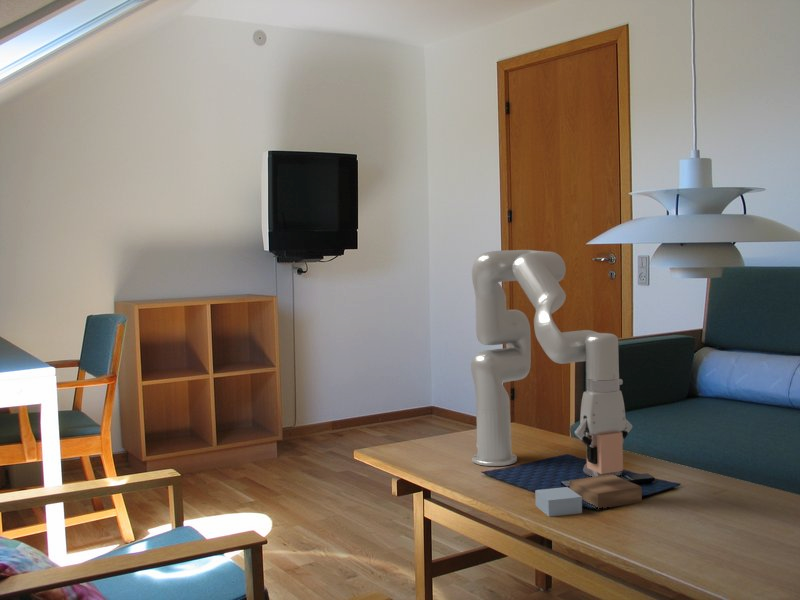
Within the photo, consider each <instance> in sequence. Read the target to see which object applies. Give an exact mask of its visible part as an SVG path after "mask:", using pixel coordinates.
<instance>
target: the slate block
mask: <svg viewBox="0 0 800 600" xmlns="http://www.w3.org/2000/svg"><path fill="white" fill-rule="evenodd" d="M534 492H535V494H534V496H535V507H537V509H539V510H540V511H541V512H543V513H544V514H545V515H546V516H547V517H557V516H560V517H561V516H569V515H577V514H582V513H583V501H582V497H581V496H580V495H578V494H577V493H575V492H574V491H573V490H571V489H570V488H569V487H568V486H564V487H555V488H554V487H553V488H543V489H536V490H535V491H534Z"/></svg>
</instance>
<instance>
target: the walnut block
mask: <svg viewBox="0 0 800 600" xmlns="http://www.w3.org/2000/svg"><path fill="white" fill-rule="evenodd" d="M568 482H569V487H568V488H570V489H571V490H573V491H574V492H575V493H577V494H578V495H580V496H581V497H582V500H584V501H586V502H588V503H590V504H593V505H595V506H596V507H598V509H597V510H600V509H599V508H602V507H603V509H608V508H607V507H609V508H615V507H620V506H626V505H630V504H637V503H642V502H643V489H642V486H641V485H639V484H636V483H633V482H631V481H630V480H628V479H627V480H626V479H624V478H622V477H617V476H615V475H613V474H608V475H601V476H595V477H591V476H590V477H589V476H587V477H583V478H576V479H569V481H568Z"/></svg>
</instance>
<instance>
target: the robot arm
mask: <svg viewBox="0 0 800 600" xmlns="http://www.w3.org/2000/svg"><path fill="white" fill-rule="evenodd" d="M566 272H567V271H566V264H565V261H564V259H563V257H562V256H561V255H559V254H558V253H557V252H554V251H546V250H545V251H544V250H535V249H534V250H533V249H532V250H531V249H515V250H514V249H513V250H511V249H510V250H507V249H505V250H491V251H486V252H483V253H480V254H479V256H478V257H476V259H475V260H474V262H473V265H472V268H471V279H472V285H473V289H474V295H475V296H474V297H475V332H476V333H475V334H476V338H477V340H478V342H479V343H480V344H482V345H484V346H497V345H498V346H499V345H505V346H506V348H505V347H504V348H495V349H487V350H483V351H480V352H478V353H477V354H475V356H473V358H472V360H471V365H470V369H471V375H472V379H473V384H474V391H475V392H474V394H475V410H476V411H475V413H476V443H475V447H476V448H477V453H475V454H473V455H472V457H471V459H472V460H471V461H472V462H473V463H474V464H477V465H478V466H479V465H480V466H485V467H502V466H503V467H504V466H509V465H513V464H515V463H516V462H517V461H518V457H517V455H516V454H515V453H512V440H511V439H512V436H511V435H512V432H511V431H512V430H511V400H510V395H509V393H508V392H507V390H506V388H505V387H504V385H503V384H504V383H507V382H514V381H515V382H516V381H520V380H523V379H525V378H526V377H527V376H528V374H529V373H530V369H531V365H532V364H531V363H532V362H531V361H532V360H531V359H532V357H531V352H532V351H531V348H532V346H531V343H532V342H531V335H532V334H531V325H530V322H529V319H528V317H527V315H526V314H525V312H523V311H521V310H519V309H507V296H506V293H505V290H504V289H503V287H502V286H501V284H500V282H518V284H519V285H520V287H521V288H522V290H523V292H524V293H525V295H526V297H527V299H528V300H529V301H530V303H531V304H532V306H533V307H534V310H535V314H534V318H533V326H534V334H535V338H536V339H537V342H538V343H539V345H540V346H541V348H542V350H543V352H545V354H546V356H547V357H548V358H549V359H550V360H551V361H552V362H554V363H556V364H559V365H560V364H562V365H563V364H570V363H580V362H581V363H583V362H585V372H586V374H585V377H586V378H585V381H586V391H583V393H582V398H581V402H580V403H581V404H580V417H579V422H580V424H579V425H578V427H577V428H576V429H575V431H574V435H575V436H576V437H578V438H579V440H580V441H581V442H582V443H584V445H585V446H587V449H586V460H587V459H588V462H590V463H593V464H597V447H595V444H596V435H600V434H607V433H615V432H621V433H622V440H623V444H624V442H625V439H626V438H627V436H628V433H629V432H630V431H631V430H632V429H633V424H632V423H631V422H630V421H629V420H628V419H627V418H626V409H625V408H626V407H625V402H624V396H623V393H622V390H620V386H621V385H623V382H624V381H623V379H622V378H620V370H619V369H620V367H619V365H620V363H619V362H620V361H619V338H618V336H617V335H615V334H614V333H609V332H608V333H607V332H597V331H594V330H591V329H582V330H573V331H563V332H561V330H560V329H559V328H558V326H557V325H556V323H555V322H554V319H553V316H552V314H554V313H556V311H558V310H559V309H560V308H562V306H563V304H564V303H565V301H566V297H567V295H566V292H565V290H564V289H563V288H562V286H561V285H560V283H559V282H561V281H562V280H563V279H564V277H565V275H566ZM587 431H588V432H587ZM586 432H587V435H586V434H584V433H586ZM591 436H592V438H591Z"/></svg>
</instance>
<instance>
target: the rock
mask: <svg viewBox="0 0 800 600" xmlns="http://www.w3.org/2000/svg"><path fill="white" fill-rule="evenodd" d="M582 471H583V473H584V474H585V475H587V476H588V477H589V476H590V477H591V476H592V477H595V476H601V475H608V474H613V475H615V476H616V475H620V474H621V473H623V471H618V472H611V473H605V474H600V473H598V472H596V471H593V470H591V469H589V468H587V463H585V464H584V465H583V469H582Z"/></svg>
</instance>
